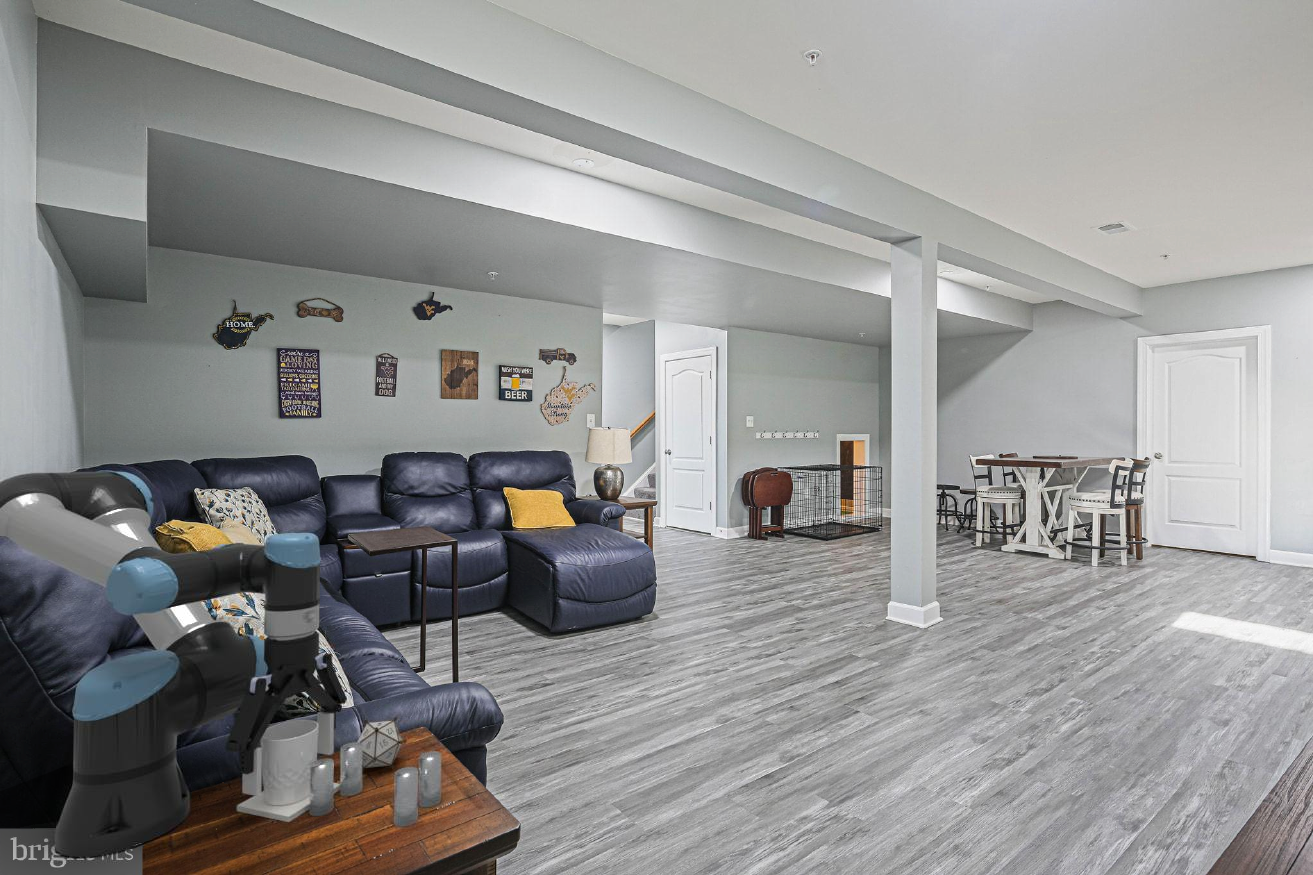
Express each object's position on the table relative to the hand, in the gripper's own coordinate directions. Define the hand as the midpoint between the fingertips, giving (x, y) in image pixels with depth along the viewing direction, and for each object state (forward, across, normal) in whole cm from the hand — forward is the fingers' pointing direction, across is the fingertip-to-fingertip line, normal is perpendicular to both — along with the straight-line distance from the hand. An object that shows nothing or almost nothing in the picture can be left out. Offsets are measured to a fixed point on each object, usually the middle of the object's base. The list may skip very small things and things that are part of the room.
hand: (290, 772), depth 103 cm
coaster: (+4, 0, 0) cm, 4 cm away
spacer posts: (+4, +2, -14) cm, 15 cm away
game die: (+4, +13, -6) cm, 15 cm away
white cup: (+4, 0, 0) cm, 4 cm away
